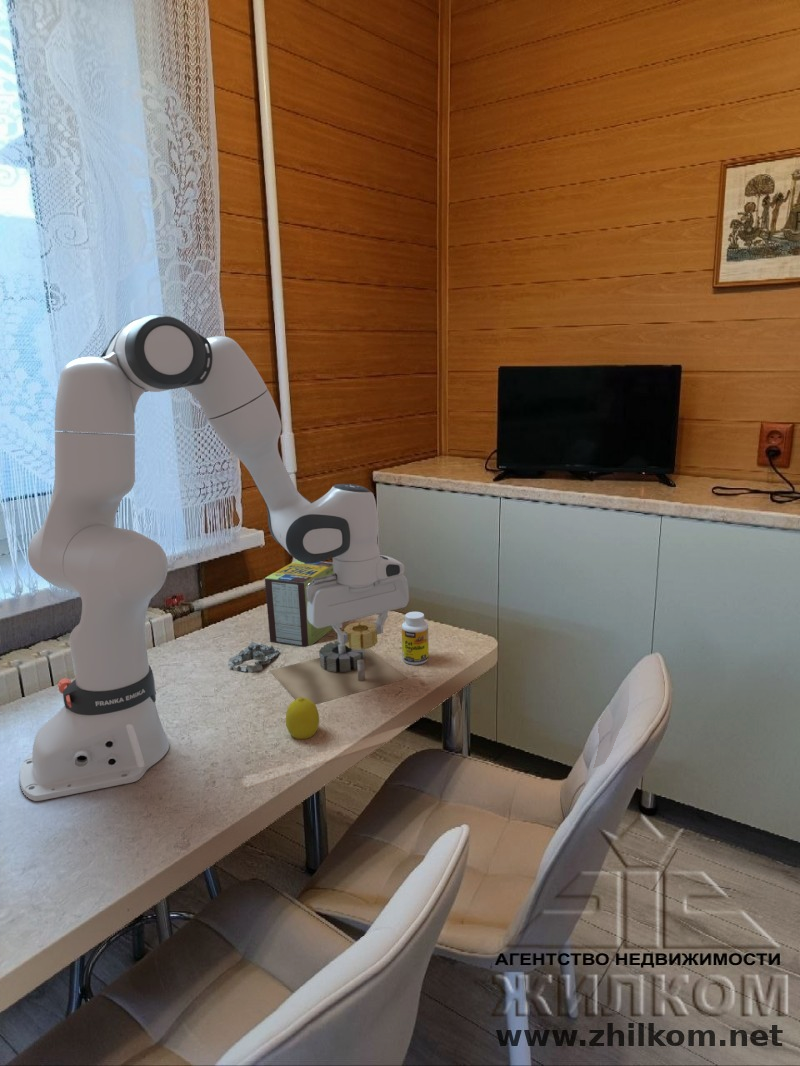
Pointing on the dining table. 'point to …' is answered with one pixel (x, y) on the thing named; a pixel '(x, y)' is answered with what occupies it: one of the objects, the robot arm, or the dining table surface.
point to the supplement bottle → (415, 639)
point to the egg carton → (253, 652)
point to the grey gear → (339, 658)
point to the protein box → (293, 603)
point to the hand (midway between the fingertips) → (360, 637)
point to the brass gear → (361, 635)
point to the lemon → (302, 718)
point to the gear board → (336, 677)
